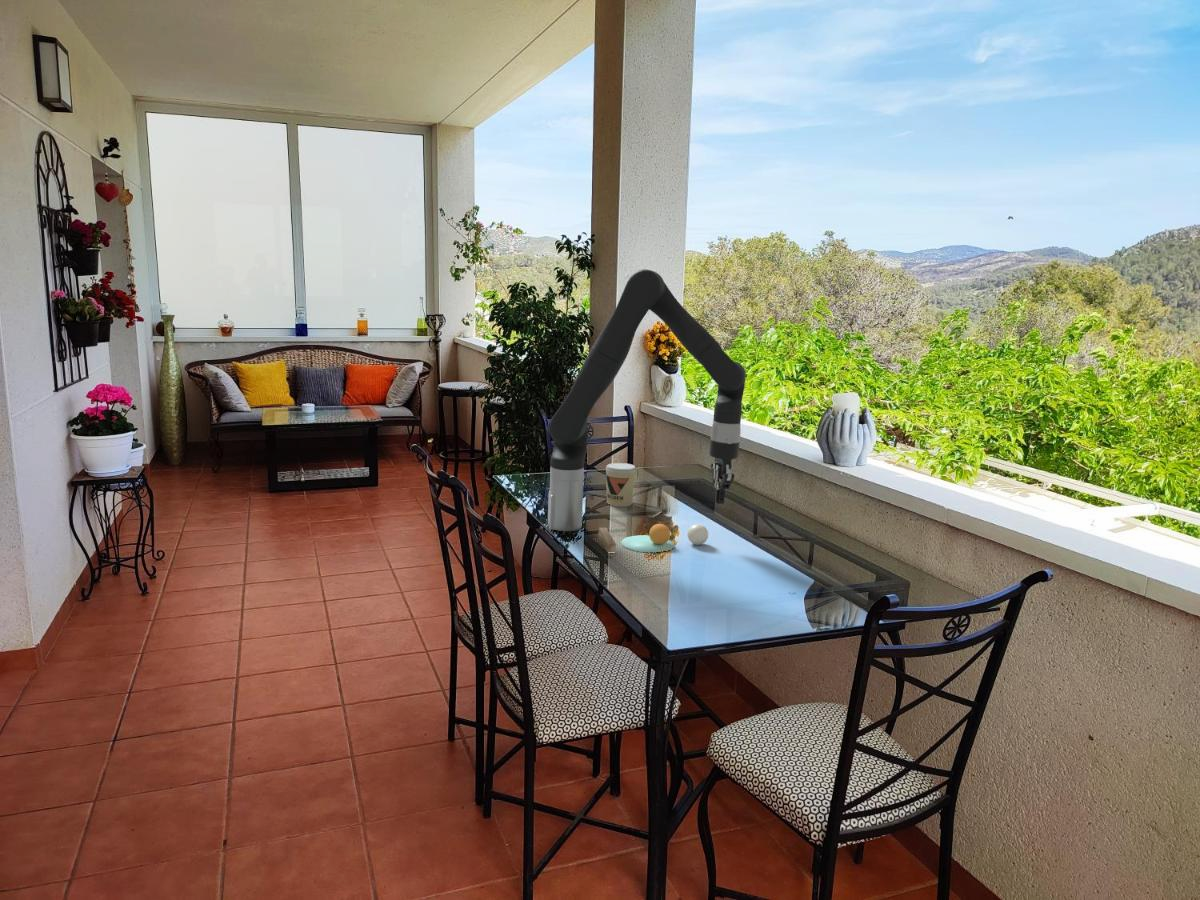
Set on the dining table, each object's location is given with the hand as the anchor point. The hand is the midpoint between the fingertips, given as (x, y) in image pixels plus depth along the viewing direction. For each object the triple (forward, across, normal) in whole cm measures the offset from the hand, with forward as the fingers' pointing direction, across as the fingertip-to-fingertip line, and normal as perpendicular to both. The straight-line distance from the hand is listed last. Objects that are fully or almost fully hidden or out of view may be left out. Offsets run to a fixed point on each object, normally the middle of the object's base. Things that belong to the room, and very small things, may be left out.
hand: (719, 502), depth 209 cm
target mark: (+12, 0, -19) cm, 22 cm away
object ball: (+9, 0, -16) cm, 18 cm away
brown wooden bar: (+12, 0, -30) cm, 32 cm away
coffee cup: (+12, -40, -19) cm, 46 cm away
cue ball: (+9, +1, -5) cm, 10 cm away
